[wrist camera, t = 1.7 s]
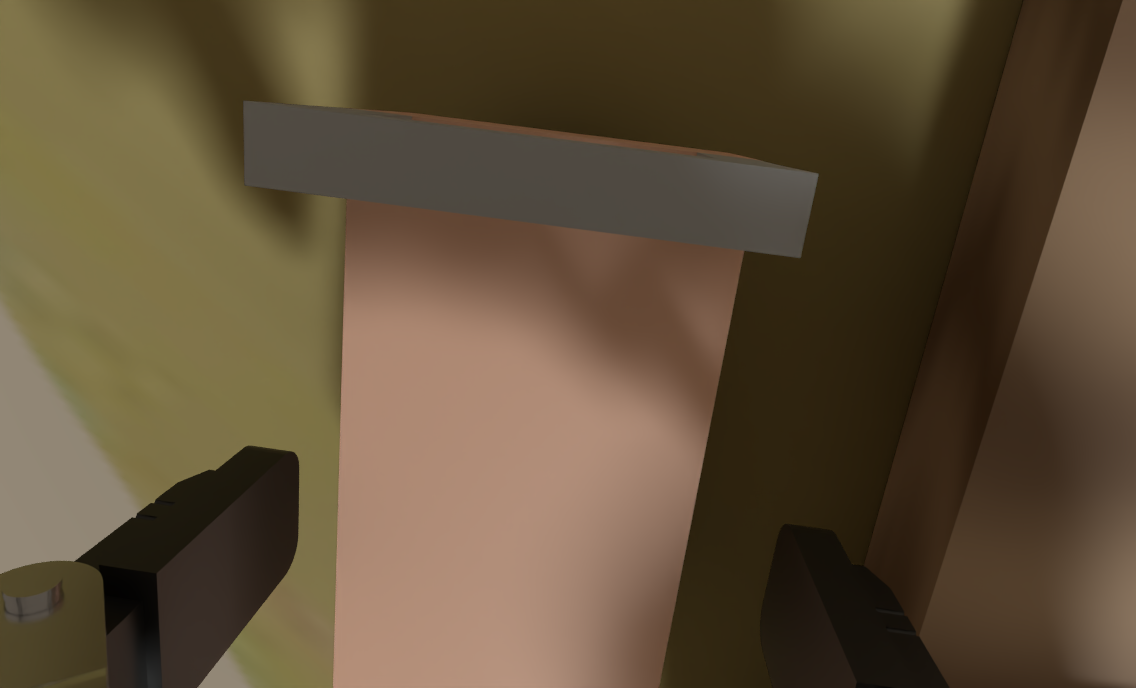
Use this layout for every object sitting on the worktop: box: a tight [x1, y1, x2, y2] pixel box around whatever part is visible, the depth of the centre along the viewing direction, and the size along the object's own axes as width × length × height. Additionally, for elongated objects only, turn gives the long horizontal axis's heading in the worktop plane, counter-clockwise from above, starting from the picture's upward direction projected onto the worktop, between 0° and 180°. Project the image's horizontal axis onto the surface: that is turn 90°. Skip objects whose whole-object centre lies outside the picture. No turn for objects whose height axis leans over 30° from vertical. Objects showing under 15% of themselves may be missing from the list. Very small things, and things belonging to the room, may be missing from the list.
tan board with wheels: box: [243, 101, 819, 688], centre depth 12 cm, size 11×6×8 cm, turn 173°
